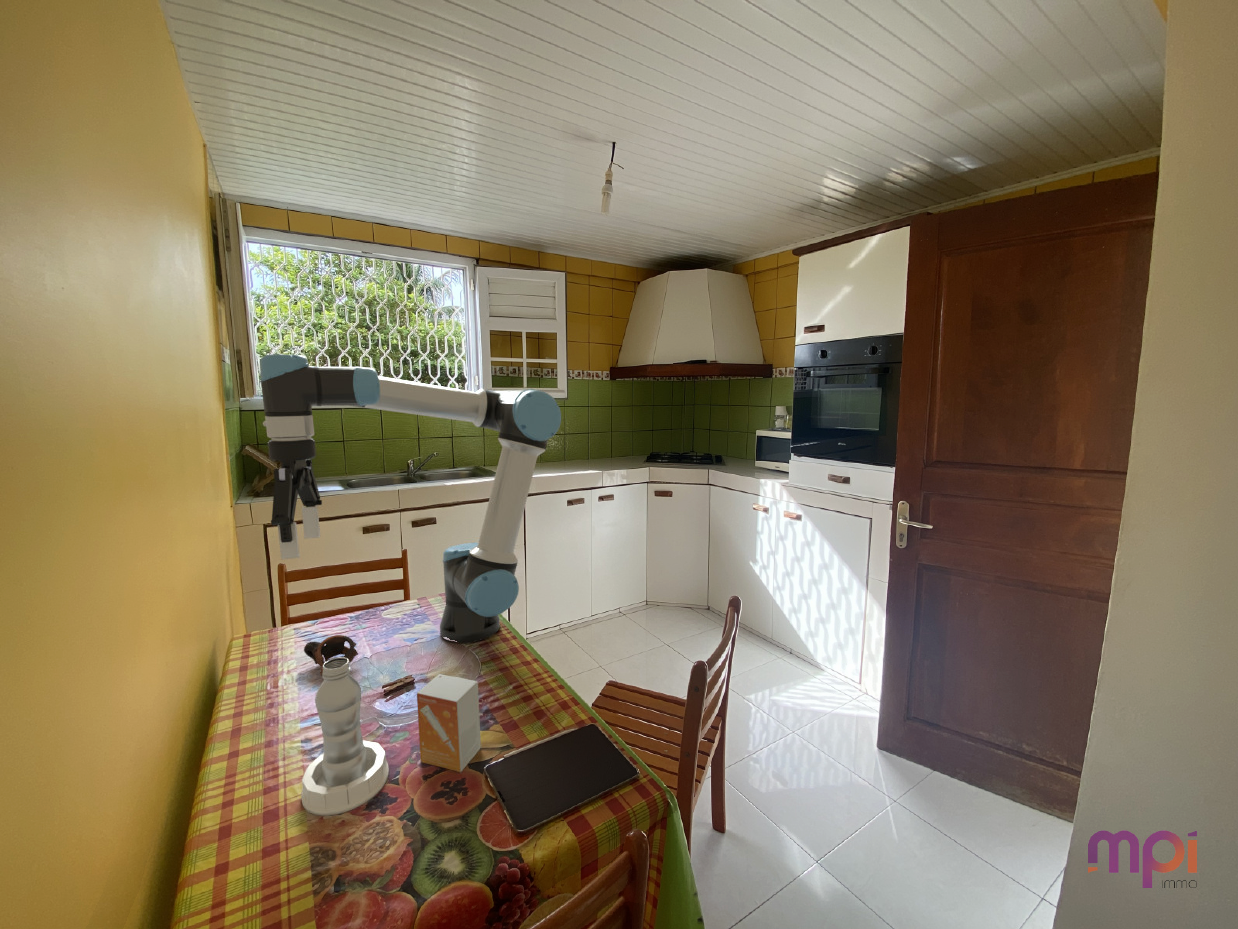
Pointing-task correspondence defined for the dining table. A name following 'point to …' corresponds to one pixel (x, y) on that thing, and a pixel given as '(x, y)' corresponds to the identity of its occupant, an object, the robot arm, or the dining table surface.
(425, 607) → the dining table surface
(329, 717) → the plastic bottle
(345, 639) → the broken clay pot
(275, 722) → the dining table surface
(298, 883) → the dining table surface
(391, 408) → the robot arm
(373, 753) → the bowl
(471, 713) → the small box
